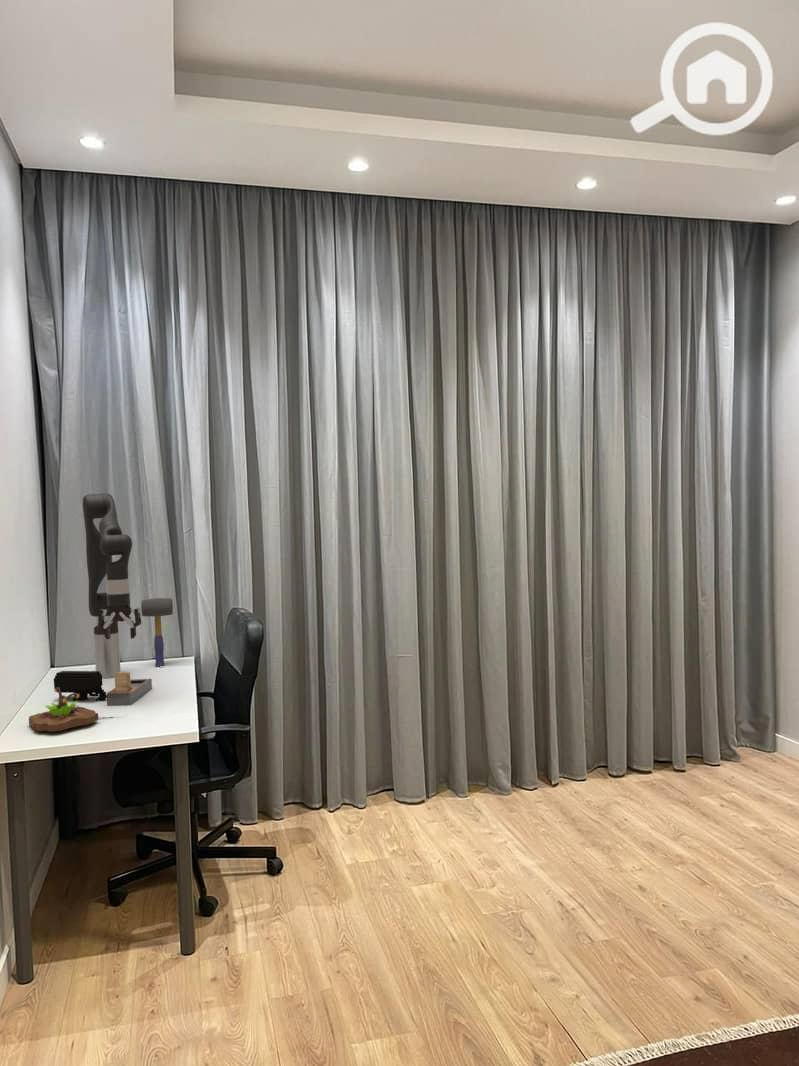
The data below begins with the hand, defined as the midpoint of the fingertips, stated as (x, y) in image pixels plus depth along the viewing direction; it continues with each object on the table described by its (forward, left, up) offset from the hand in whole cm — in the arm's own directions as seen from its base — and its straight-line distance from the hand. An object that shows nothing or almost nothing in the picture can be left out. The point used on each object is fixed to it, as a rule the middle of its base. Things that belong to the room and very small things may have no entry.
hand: (120, 638), depth 297 cm
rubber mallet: (-55, -4, -22) cm, 59 cm away
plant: (+25, -11, -23) cm, 36 cm away
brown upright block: (0, 0, -21) cm, 21 cm away
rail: (-7, 0, -22) cm, 23 cm away
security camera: (-4, -16, -22) cm, 28 cm away
